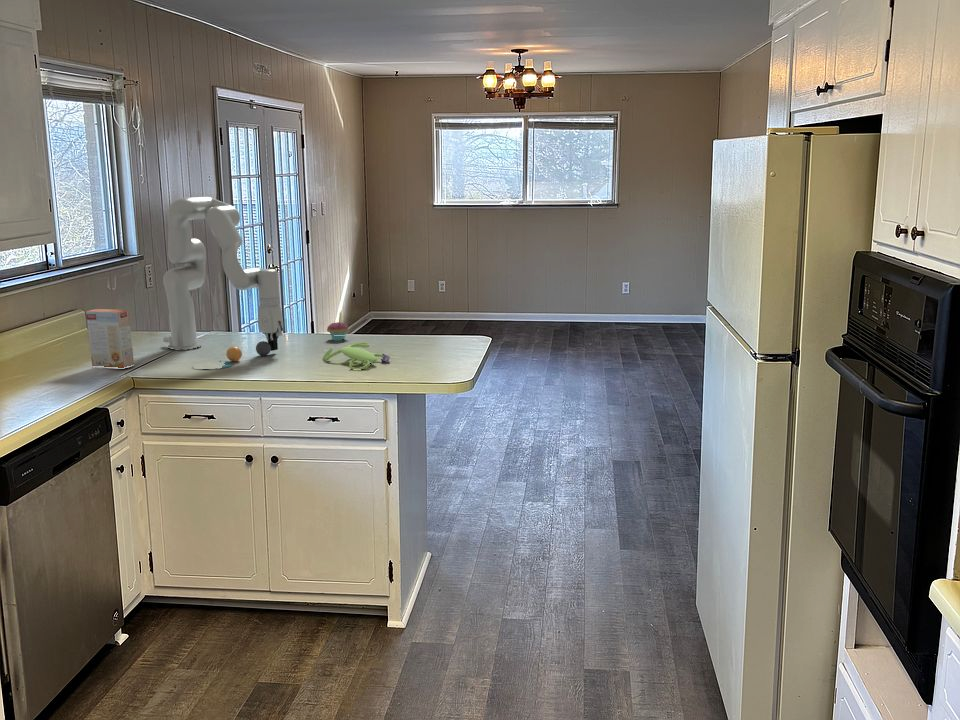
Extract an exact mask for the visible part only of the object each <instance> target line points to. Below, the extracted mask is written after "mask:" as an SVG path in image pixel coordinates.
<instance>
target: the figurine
mask: <svg viewBox="0 0 960 720" xmlns="http://www.w3.org/2000/svg"><path fill="white" fill-rule="evenodd" d="M359 347H360V348H359ZM363 348H364V349H363ZM366 348H370V343H369V342H353V343H350V344H348V345H347V346H344V347H341V348H340V349H338V350H336V351H335V352H333V349H332V348H330V349H328V351H326V352H325V354H324V355H323V357H322V360H325V361H329V360H330V359H331V358H333V357H335V356H337V355H339V354H340V353H342V354H343V355H344V356H346V357H348V358H349V359H351V360H350V361H349V364H348V367H349V370H351V369H365V370H366V368H367V369H369V368H370V366H371V364H370V363H372V364H373V363H375V362H377V361H378V359H377V358H379V357H380V361H381V360H382V361H381V362H384V361H385V363H387V362H389V361H390V357H391V356H390V355H387V354H384V353H382V354H381V353H372V352H371V351H368V350H366ZM322 360H321V361H322ZM356 361H357V362H358V361H359V362H358V363H355V362H356ZM359 365H363V366H361V367H355V366H359ZM364 365H365V366H364Z"/></svg>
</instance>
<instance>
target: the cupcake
mask: <svg viewBox="0 0 960 720" xmlns="http://www.w3.org/2000/svg"><path fill="white" fill-rule="evenodd" d="M326 331H327V332H328V333H329V334H330V335H331V339H332V340H333V341H336V342H338V341H343V340H342V339H344V340H345V339H346V335H347V332H348V331H349V326H348V325H347V324H346V323H344V322H342V311H340V312H339V317H338V322H335V321H334V322H332V323H330V324H329V325H327V328H326ZM334 335H345V336H334Z"/></svg>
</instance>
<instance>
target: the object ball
mask: <svg viewBox="0 0 960 720" xmlns="http://www.w3.org/2000/svg"><path fill="white" fill-rule="evenodd" d="M242 356H243V352H242V349H241V348H240V347H239V346H231V347H228V348H227V350H226V358H227V360H229V362H232V363H233V362H237V361H240V359H242Z"/></svg>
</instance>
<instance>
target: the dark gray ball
mask: <svg viewBox="0 0 960 720" xmlns="http://www.w3.org/2000/svg"><path fill="white" fill-rule="evenodd" d="M255 351H256V353H257V354H258V355H260V356H261V357H262V356H263V357H265V356H268V355H269V354H270V353H271V352H272V351H271V346H270V344H269V343H268V341H265V340H262V341H259V342H258V343H257V344H256V346H255Z"/></svg>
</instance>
